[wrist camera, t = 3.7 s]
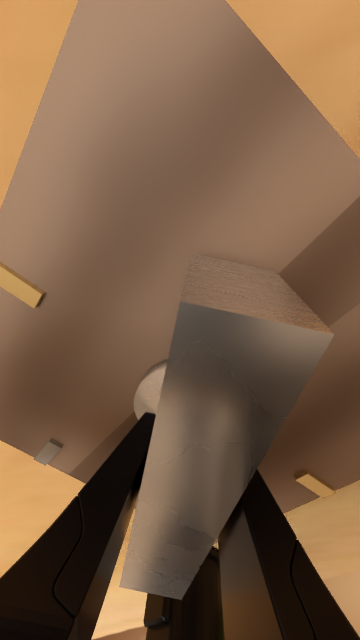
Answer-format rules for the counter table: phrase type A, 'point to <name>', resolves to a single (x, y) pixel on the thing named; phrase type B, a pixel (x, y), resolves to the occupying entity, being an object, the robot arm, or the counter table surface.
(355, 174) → the lock plate
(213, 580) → the robot arm
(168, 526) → the t key
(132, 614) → the counter table surface
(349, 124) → the counter table surface
